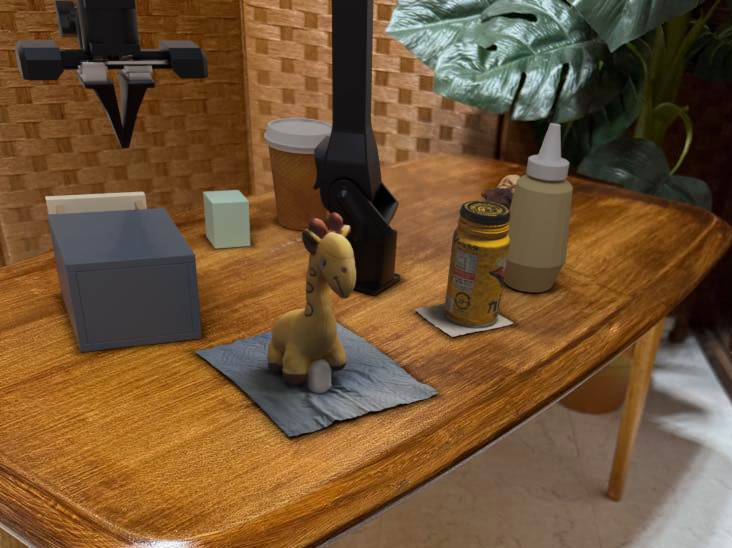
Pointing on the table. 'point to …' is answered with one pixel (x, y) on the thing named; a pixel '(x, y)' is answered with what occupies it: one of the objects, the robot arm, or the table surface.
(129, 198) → the drawer
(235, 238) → the block
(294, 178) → the disposable coffee cup
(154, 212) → the cabinet
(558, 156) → the squeeze bottle
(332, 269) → the stuffed giraffe
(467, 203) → the condiment
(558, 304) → the table surface
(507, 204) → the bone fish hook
